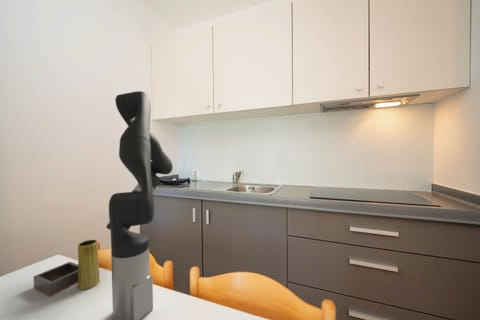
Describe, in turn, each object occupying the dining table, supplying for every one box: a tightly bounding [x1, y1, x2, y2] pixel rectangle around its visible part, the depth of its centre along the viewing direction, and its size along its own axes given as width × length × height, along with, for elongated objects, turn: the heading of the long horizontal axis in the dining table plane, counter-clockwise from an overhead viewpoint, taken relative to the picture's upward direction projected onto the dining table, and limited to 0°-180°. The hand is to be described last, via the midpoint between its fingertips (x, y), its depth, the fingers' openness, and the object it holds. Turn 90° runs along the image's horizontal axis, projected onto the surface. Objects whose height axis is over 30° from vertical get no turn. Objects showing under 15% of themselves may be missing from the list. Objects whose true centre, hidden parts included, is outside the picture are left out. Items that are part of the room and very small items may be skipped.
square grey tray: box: [33, 261, 78, 298], centre depth 70 cm, size 10×10×4 cm
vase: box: [77, 239, 101, 291], centre depth 69 cm, size 6×6×14 cm
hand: (115, 230), depth 78 cm, fingers open, 8 cm apart
